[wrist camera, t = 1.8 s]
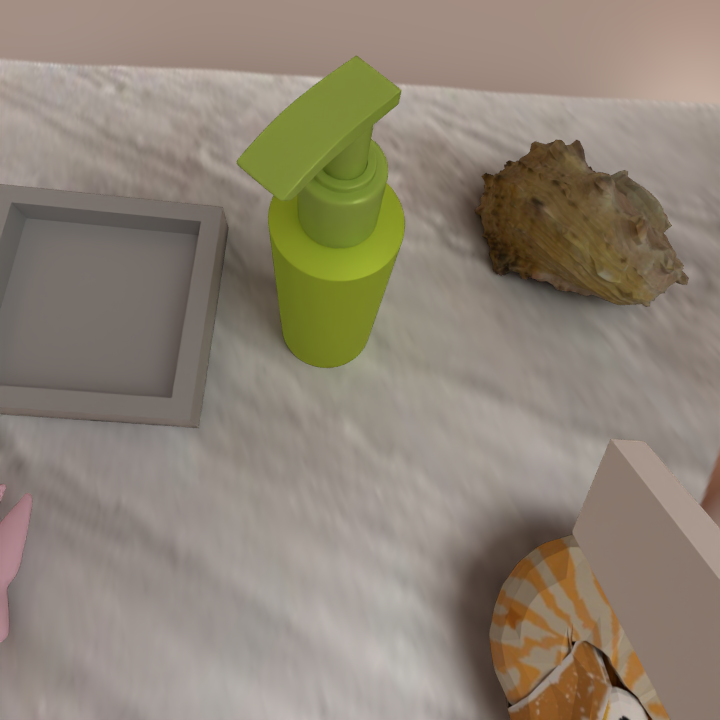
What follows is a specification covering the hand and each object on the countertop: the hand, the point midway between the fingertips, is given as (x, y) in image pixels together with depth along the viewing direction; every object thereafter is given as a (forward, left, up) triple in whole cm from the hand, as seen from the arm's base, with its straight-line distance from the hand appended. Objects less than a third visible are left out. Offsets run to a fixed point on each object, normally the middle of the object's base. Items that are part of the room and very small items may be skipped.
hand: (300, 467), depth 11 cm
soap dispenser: (0, -11, -21) cm, 24 cm away
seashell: (-17, -19, -22) cm, 33 cm away
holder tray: (+14, -11, -21) cm, 28 cm away
